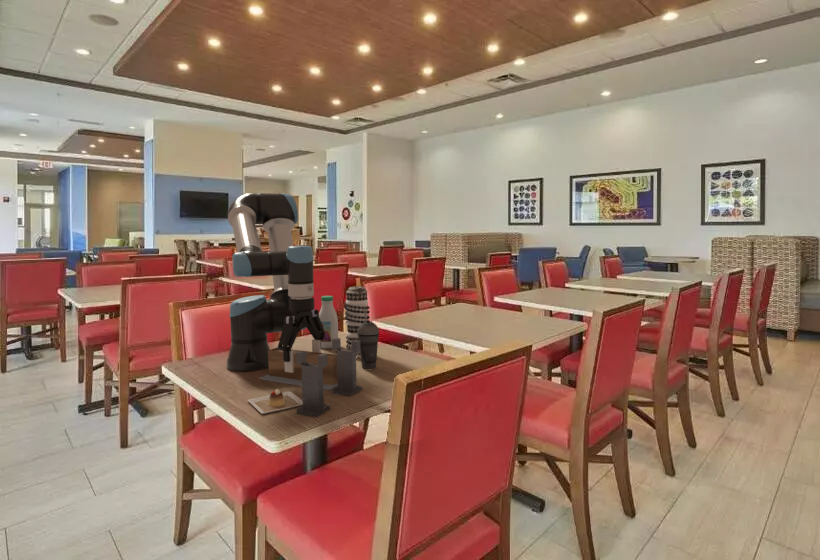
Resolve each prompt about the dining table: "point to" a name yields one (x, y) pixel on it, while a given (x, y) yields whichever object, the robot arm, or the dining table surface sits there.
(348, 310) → the decorative candle
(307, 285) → the robot arm
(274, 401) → the dessert
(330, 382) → the rail
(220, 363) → the dining table surface
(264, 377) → the mat
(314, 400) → the standards
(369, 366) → the beverage cup
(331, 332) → the milk bottle
